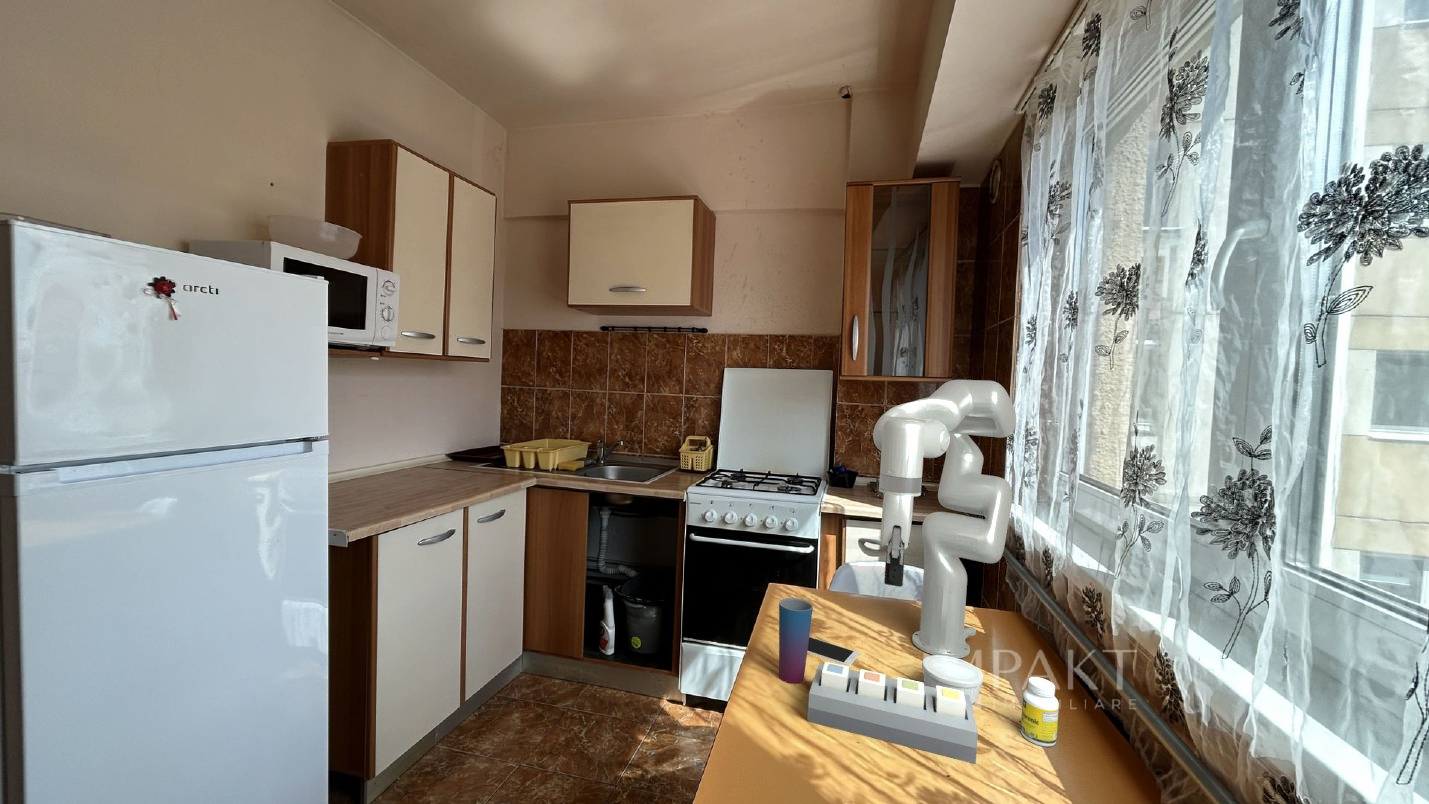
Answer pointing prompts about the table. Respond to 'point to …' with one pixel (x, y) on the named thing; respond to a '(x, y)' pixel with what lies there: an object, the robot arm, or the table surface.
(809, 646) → the smartphone
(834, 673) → the key slate
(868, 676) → the key terracotta
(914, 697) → the key olive
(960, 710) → the key mustard
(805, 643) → the cup
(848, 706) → the keypad
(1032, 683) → the supplement bottle
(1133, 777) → the table surface
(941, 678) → the ramekin
